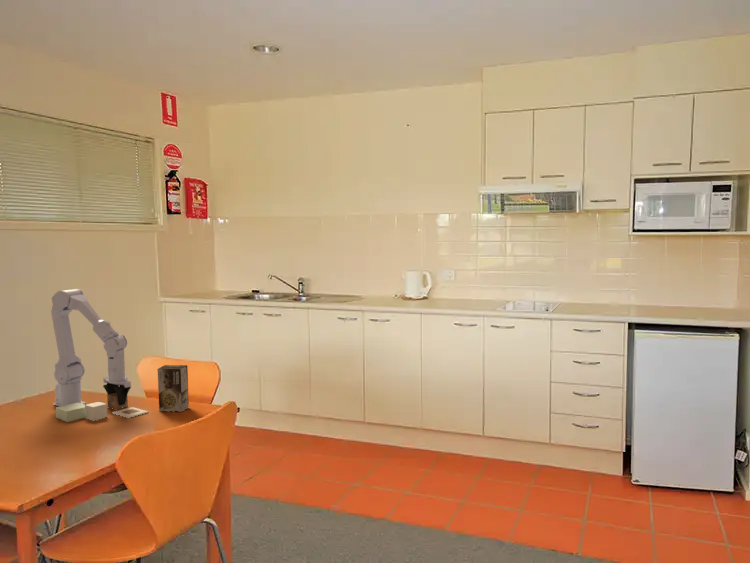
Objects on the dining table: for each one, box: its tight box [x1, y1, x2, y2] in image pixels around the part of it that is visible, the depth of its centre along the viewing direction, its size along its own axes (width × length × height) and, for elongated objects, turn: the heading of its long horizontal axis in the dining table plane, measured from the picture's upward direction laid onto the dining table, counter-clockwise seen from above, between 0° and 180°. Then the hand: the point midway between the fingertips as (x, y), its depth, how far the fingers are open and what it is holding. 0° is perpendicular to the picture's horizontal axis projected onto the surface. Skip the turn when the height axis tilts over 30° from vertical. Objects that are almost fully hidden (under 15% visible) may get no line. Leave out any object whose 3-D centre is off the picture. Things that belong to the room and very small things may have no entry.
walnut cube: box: [106, 393, 129, 410], centre depth 222 cm, size 5×5×5 cm
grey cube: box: [84, 401, 108, 422], centre depth 209 cm, size 5×5×5 cm
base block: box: [55, 403, 86, 423], centre depth 210 cm, size 8×8×4 cm
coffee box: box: [157, 364, 190, 413], centre depth 219 cm, size 9×6×16 cm
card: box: [111, 406, 149, 419], centre depth 214 cm, size 10×8×1 cm
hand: (117, 403), depth 222 cm, fingers closed on walnut cube, 5 cm apart
